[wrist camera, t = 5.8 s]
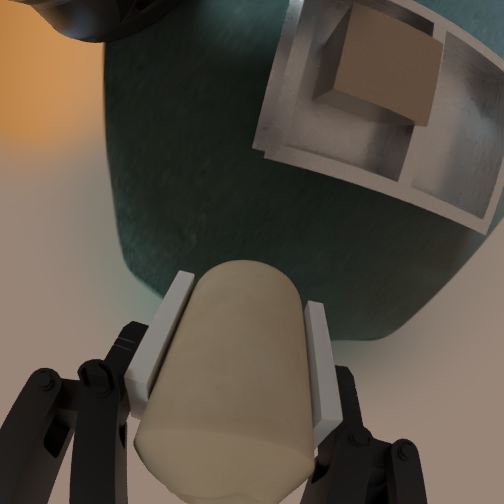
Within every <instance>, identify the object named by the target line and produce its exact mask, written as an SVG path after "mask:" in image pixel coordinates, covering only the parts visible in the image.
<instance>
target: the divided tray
mask: <svg viewBox="0 0 504 504" xmlns="http://www.w3.org/2000/svg"><path fill="white" fill-rule="evenodd" d="M353 2H356V3H358V4H361V5H364V6H366V7H369V8H372V9H374V10H377V11H379V12H381V13H384V14H386V15H388V16H391V17H393V18H395V19H397V20H399V21H402V22H404V23H406V24H408V25H410V26H412V27H414V28H416V29H418V30H420V31H422V32H423V33H425V34H427V35H429V36H431V37H433V38H434V39H436V40H438V41H440V42H441V43H443V50H442V57H441V63H440V69H439V75H438V80H437V85H436V90H435V95H434V100H433V104H432V108H431V113H430V117H429V121H428V125H427V127H422V126H412V125H402V124H389V123H375V122H372V121H370V120H367V119H365V118H362V117H359V116H356V115H354V114H351V113H348V112H345V111H342V110H339V109H336V108H333V107H330V106H326V105H323V104H320V103H317V102H313V101H311V100H312V96H313V92H314V88H315V85H316V81H317V77H318V73H319V69H320V65H321V61H322V57H323V53H324V49H325V45H326V41H327V39H328V38H329V36H330V35H331V34H332V32H333V31H334V29H335V28H336V26H337V25H338V23H339V22H340V20H341V19H342V18H343V16H344V15H345V13H346V12H347V10H348V9H349V8H350V6H351V5H352V3H353ZM252 148H253V149H257V150H262V151H265V154H264V158H266V159H270V160H274V161H278V162H282V163H286V164H290V165H293V166H297V167H301V168H304V169H308V170H312V171H315V172H318V173H322V174H325V175H329V176H332V177H335V178H339V179H342V180H345V181H348V182H351V183H354V184H357V185H360V186H364V187H367V188H369V189H372V190H375V191H378V192H381V193H384V194H387V195H390V196H392V197H395V198H398V199H401V200H403V201H406V202H409V203H411V204H414V205H416V206H419V207H421V208H424V209H426V210H429V211H431V212H434V213H436V214H439V215H441V216H444V217H446V218H448V219H451V220H453V221H455V222H458V223H460V224H462V225H464V226H467V227H469V228H471V229H473V230H475V231H477V232H480V233H482V234H484V235H486V233H487V231H488V228H489V226H490V223H491V221H492V218H493V215H494V213H495V210H496V207H497V204H498V201H499V198H500V195H501V192H502V189H503V186H504V60H503V59H501V58H500V57H499V56H498V55H496V54H495V53H494V52H493V51H491V50H490V49H489V48H488V47H486V46H485V45H484V44H482V43H481V42H480V41H478V40H477V39H476V38H474V37H473V36H471V35H470V34H468V33H467V32H466V31H464V30H463V29H461V28H460V27H458V26H457V25H455V24H453V23H452V22H450V21H449V20H447V19H445V18H444V17H442V16H440V15H439V14H437V13H435V12H433V11H432V10H430V9H428V8H426V7H424V6H422V5H421V4H419V3H417V2H415V1H413V0H290V2H289V6H288V9H287V13H286V17H285V20H284V24H283V28H282V31H281V35H280V39H279V43H278V46H277V50H276V54H275V58H274V62H273V65H272V69H271V73H270V77H269V81H268V85H267V89H266V93H265V97H264V101H263V105H262V109H261V113H260V117H259V121H258V125H257V129H256V133H255V138H254V142H253V146H252Z"/></svg>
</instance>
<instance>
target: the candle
mask: <svg viewBox="0 0 504 504" xmlns="http://www.w3.org/2000/svg"><path fill="white" fill-rule="evenodd" d="M134 447H135V450H136V452H137V453H138V455H139V457H140V459H141V461H142V462H143V463H144V465H145V466H146V468H147V469H148V471H149V472H150V473H151V474H152V475H154V476H155V477H156V478H157V479H158V480H159V481H160V482H161V483H162V484H164V485H165V486H166V487H167V489H168V490H169V491H170V492H171V493H174V494H175V495H176V496H177V497H178V498H180V499H181V500H182V501H184V502H186V503H189V504H279V503H280V502H281V501H282V500H283V499H284V498H286V497H287V496H288V495H289V494H290V493H292V492H293V491H294V490H295V489H296V488H298V487H299V486H300V485H301V484H302V483H303V482H304V481H306V480H307V479H308V478H309V477H310V476H311V474H312V473H313V472H314V469H315V460H314V440H313V423H312V408H311V395H310V382H309V370H308V359H307V348H306V338H305V329H304V319H303V312H302V305H301V300H300V296H299V294H298V291H297V289H296V287H295V286H294V284H293V283H292V281H291V280H290V279H289V278H288V277H287V276H286V275H285V274H283V273H282V272H281V271H279V270H278V269H276V268H275V267H272V266H270V265H268V264H265V263H262V262H258V261H253V260H234V261H229V262H225V263H222V264H219V265H217V266H215V267H213V268H212V269H210V270H209V271H208V272H206V273H205V274H204V275H203V276H202V277H201V279H200V280H199V281H198V283H197V284H196V286H195V288H194V290H193V292H192V294H191V296H190V298H189V301H188V303H187V305H186V308H185V310H184V312H183V315H182V317H181V320H180V322H179V324H178V327H177V329H176V332H175V334H174V337H173V339H172V342H171V344H170V346H169V349H168V351H167V354H166V356H165V359H164V361H163V364H162V367H161V369H160V372H159V374H158V377H157V379H156V382H155V384H154V387H153V390H152V392H151V395H150V398H149V400H148V403H147V405H146V408H145V411H144V414H143V416H142V419H141V422H140V424H139V427H138V430H137V433H136V436H135V439H134Z"/></svg>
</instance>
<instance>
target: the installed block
mask: <svg viewBox="0 0 504 504" xmlns="http://www.w3.org/2000/svg"><path fill="white" fill-rule="evenodd" d="M442 50H443V43H441V42H440V41H438V40H436V39H434V38H433V37H431V36H429V35H427V34H425V33H423V32H422V31H420V30H418V29H416V28H414V27H412V26H410V25H408V24H406V23H404V22H402V21H399V20H397V19H395V18H393V17H391V16H388V15H386V14H384V13H381V12H379V11H377V10H374V9H372V8H369V7H366V6H364V5H361V4H358V3H356V2H353V3H352V5H351V6H350V8H349V9H348V10H347V12H346V13H345V15H344V16H343V18H342V19H341V20H340V22H339V23H338V25H337V26H336V28H335V29H334V31H333V32H332V34H331V35H330V36H329V38H328V39H327V41H326V45H325V49H324V53H323V57H322V61H321V65H320V69H319V73H318V77H317V81H316V85H315V88H314V92H313V96H312V100H311V101H313V102H317V103H320V104H323V105H326V106H330V107H333V108H336V109H339V110H342V111H345V112H348V113H351V114H354V115H356V116H359V117H362V118H365V119H367V120H370V121H372V122H375V123H389V124H402V125H412V126H422V127H427V125H428V121H429V117H430V113H431V108H432V104H433V100H434V95H435V90H436V85H437V80H438V75H439V69H440V63H441V57H442Z"/></svg>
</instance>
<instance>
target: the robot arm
mask: <svg viewBox="0 0 504 504" xmlns="http://www.w3.org/2000/svg"><path fill="white" fill-rule="evenodd" d="M10 1H15V2H19V3H24V4H27V5H31V6H32V7H33V8H34V9H35V10H36V11H37V12H38V13H39V14H40V15H41V16H42V17H43V18H44V19H45V20H46V21H47V22H48V23H50V24H51V25H52V26H53V28H54V29H55V30H57V31H58V32H59V33H61V34H63V35H65V36H67V37H70V38H73V39H77V40H80V41H84V42H90V43H101V42H108V41H113V40H117V39H120V38H123V37H126V36H129V35H131V34H133V33H136V32H138V31H140V30H142V29H144V28H145V27H147V26H149V25H151V24H152V23H154V22H155V21H157V20H158V19H160V18H161V17H163V16H164V15H165V14H167V13H168V12H169V11H170V10H172V9H173V8H174V7H175V6H176V5H177V4H178V3H179V2H180V1H181V0H10ZM194 275H195V274H192V273H188V272H184V271H180V270H179V272H178V274H177V275H176V277H175V279H174V281H173V283H172V285H171V286H170V288H169V290H168V292H167V294H166V295H165V297H164V299H163V301H162V303H161V305H160V307H159V309H158V311H157V312H156V314H155V316H154V318H153V320H152V322H151V324H150V326H148V325H145V324H141V323H138V322H135V321H132V322H130V323H129V324H127V325H126V326H125V327H123V329H122V331H121V332H120V334H119V336H118V338H117V339H116V341H115V342H114V345H113V346H112V347H111V349H110V351H109V353H108V354H107V356H106V358H105V359H104V360H100V359H92V360H89V361H86V362H84V363H83V364H82V365H81V366H80V367H79V369H78V372H77V373H78V376H79V378H80V380H70V379H63V378H61V377H60V376H59V374H58V373H57V372H56V371H54V370H53V369H49V368H40V369H38V370H36V371H35V372H33V374H32V375H31V376H30V377H29V379H28V381H27V382H26V384H25V386H24V387H23V389H22V391H21V392H20V394H19V396H18V398H17V399H16V401H15V403H14V404H13V406H12V408H11V410H10V412H9V414H8V415H7V417H6V419H5V421H4V423H3V425H2V427H1V429H0V504H47V503H48V500H49V497H50V494H51V491H52V488H53V486H54V483H55V480H56V477H57V474H58V472H59V469H60V466H61V464H62V461H63V458H64V456H65V453H66V451H67V448H68V446H69V443H70V441H71V439H72V436H73V434H74V431H75V434H74V442H73V451H72V462H71V476H70V498H69V503H70V504H128V497H127V422H126V420H127V417H128V415H129V412H131V416H132V417H134V418H137V419H140V420H141V419H142V416H143V414H144V411H145V408H146V405H147V403H148V400H149V398H150V395H151V392H152V390H153V387H154V384H155V382H156V379H157V377H158V374H159V372H160V369H161V367H162V364H163V361H164V359H165V356H166V354H167V351H168V349H169V346H170V344H171V342H172V339H173V337H174V334H175V332H176V329H177V327H178V324H179V322H180V320H181V317H182V315H183V312H184V310H185V308H186V305H187V303H188V301H189V298H190V296H191V294H192V289H193V282H194ZM303 319H304V329H305V338H306V348H307V359H308V370H309V382H310V395H311V408H312V423H313V440H314V450H315V449H316V447H318V456H316V457H315V458H314V460H315V469H314V472H313V473H312V474H311V476H310V477H309V478H308V481H307V484H306V487H305V490H304V493H303V496H302V499H301V502H300V504H427V498H426V491H425V485H424V479H423V473H422V468H421V463H420V458H419V453H418V450H417V448H416V446H415V445H414V444H413V442H411V441H409V440H408V439H399V440H397V441H396V442H395V443H393V444H391V443H388V442H384V441H381V440H377V439H375V438H373V436H372V434H371V432H370V431H369V430H368V429H367V428H365V427H364V426H363V422H362V417H361V412H360V407H359V401H358V397H357V391H356V388H355V382H354V377H353V375H352V373H351V372H350V370H349V369H348V367H344V366H337V365H334V359H333V354H332V348H331V343H330V337H329V332H328V327H327V322H326V317H325V312H324V307H323V303H318V302H313V301H309V300H308V302H307V305H306V307H305V310H304V312H303Z"/></svg>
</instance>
